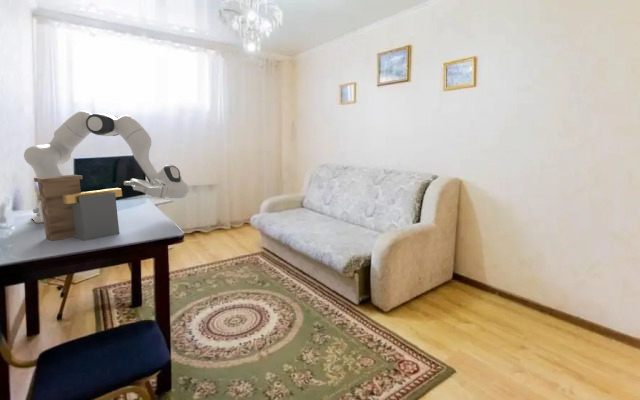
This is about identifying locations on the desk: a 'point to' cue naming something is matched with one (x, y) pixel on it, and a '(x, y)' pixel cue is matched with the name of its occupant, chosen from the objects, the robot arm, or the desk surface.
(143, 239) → the desk surface
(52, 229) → the stand
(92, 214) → the cradle
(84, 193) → the wooden block
